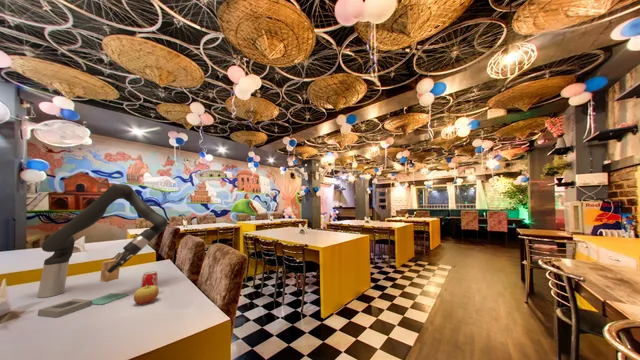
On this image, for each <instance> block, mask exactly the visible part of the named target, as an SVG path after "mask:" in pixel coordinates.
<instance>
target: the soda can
mask: <svg viewBox="0 0 640 360" xmlns="http://www.w3.org/2000/svg"><path fill="white" fill-rule="evenodd" d="M158 275H159V274H158V271H157V270H152V271H146V272H144V273H143V275H142V277H141V282H140V288H142V287H145V286H157V287H158V279H159V278H158Z"/></svg>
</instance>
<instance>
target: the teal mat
mask: <svg viewBox="0 0 640 360" xmlns="http://www.w3.org/2000/svg"><path fill="white" fill-rule="evenodd" d="M128 296H129V294H128V293H127V294H125V293H112V292H111V293H107V294H104V295H103V296H99V297H95V298H93V299H91V300H92V306H103V305H106V304H110V303H112V302H114V301H118V300H120V299H123V298H126V297H128Z"/></svg>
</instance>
